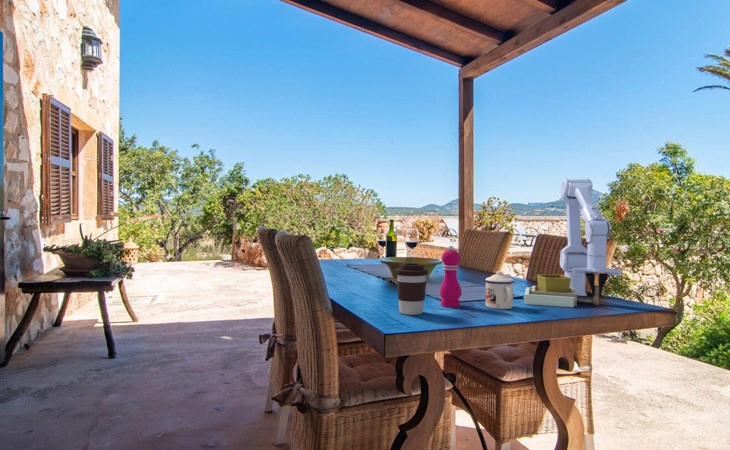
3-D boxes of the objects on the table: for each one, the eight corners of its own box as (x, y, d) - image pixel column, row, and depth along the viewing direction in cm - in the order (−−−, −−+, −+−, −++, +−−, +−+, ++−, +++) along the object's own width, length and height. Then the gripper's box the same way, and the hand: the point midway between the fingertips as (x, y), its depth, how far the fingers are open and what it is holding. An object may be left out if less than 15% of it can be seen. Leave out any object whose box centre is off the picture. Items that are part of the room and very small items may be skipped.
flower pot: (571, 304, 154) (571, 277, 154) (545, 303, 155) (545, 277, 154) (560, 299, 163) (560, 274, 163) (536, 299, 163) (536, 274, 163)
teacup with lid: (480, 304, 153) (480, 270, 153) (504, 303, 155) (505, 269, 154) (497, 312, 141) (497, 274, 141) (523, 310, 143) (524, 273, 143)
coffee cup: (401, 317, 133) (401, 266, 133) (390, 310, 143) (391, 262, 142) (432, 315, 136) (433, 265, 136) (420, 308, 145) (420, 262, 145)
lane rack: (526, 295, 170) (526, 287, 170) (570, 298, 165) (570, 289, 165) (524, 304, 154) (524, 294, 154) (573, 307, 149) (573, 297, 148)
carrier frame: (532, 296, 168) (532, 280, 168) (595, 300, 160) (596, 283, 160) (531, 303, 155) (531, 285, 155) (600, 307, 147) (600, 289, 147)
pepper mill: (460, 303, 154) (460, 245, 154) (462, 308, 147) (463, 246, 147) (438, 303, 155) (439, 244, 154) (440, 307, 148) (440, 246, 147)
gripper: (574, 255, 153) (573, 296, 153) (623, 257, 147) (622, 299, 147) (572, 254, 159) (572, 293, 159) (619, 255, 154) (619, 295, 154)
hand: (596, 295), depth 154 cm, fingers closed on carrier frame
